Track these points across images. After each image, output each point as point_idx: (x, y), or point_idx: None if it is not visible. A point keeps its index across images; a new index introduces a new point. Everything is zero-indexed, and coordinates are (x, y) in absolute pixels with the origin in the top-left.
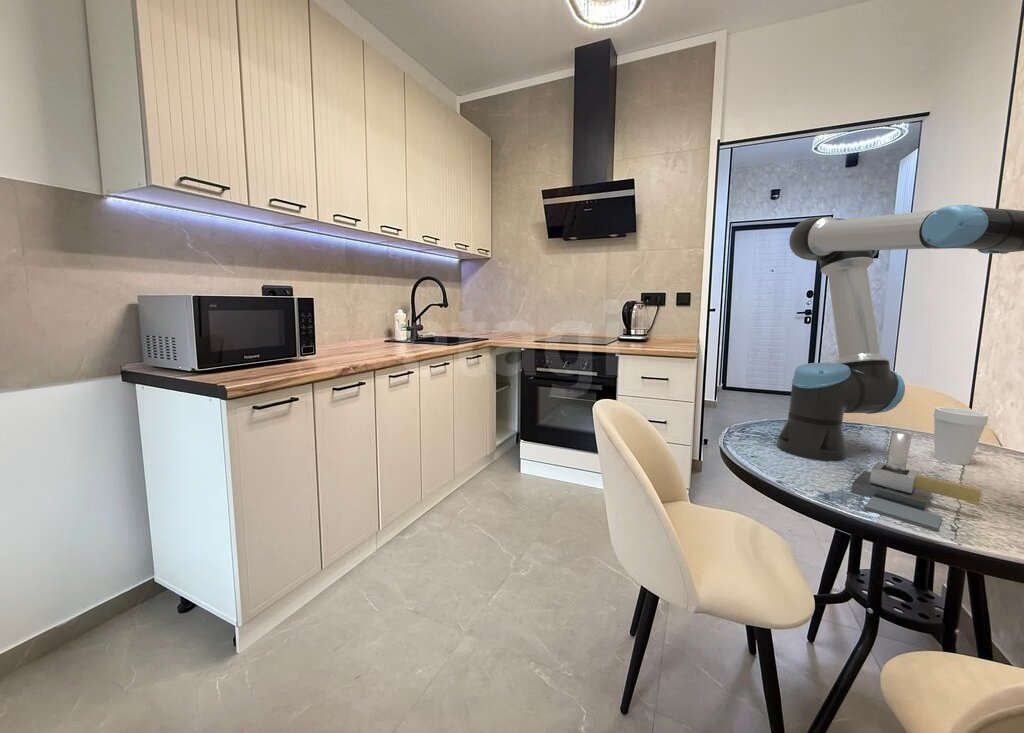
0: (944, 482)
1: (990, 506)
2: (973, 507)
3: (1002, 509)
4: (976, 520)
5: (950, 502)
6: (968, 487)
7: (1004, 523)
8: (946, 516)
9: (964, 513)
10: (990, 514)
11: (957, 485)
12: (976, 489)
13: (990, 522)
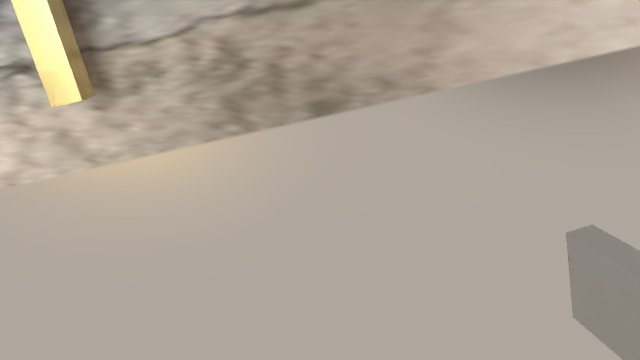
0: (18, 12)
1: (249, 84)
2: (186, 63)
3: (255, 107)
4: None
5: (161, 15)
6: (52, 73)
7: (131, 139)
8: (7, 47)
9: (97, 65)
10: (171, 103)
11: (34, 47)
12: (58, 92)
13: (97, 121)
